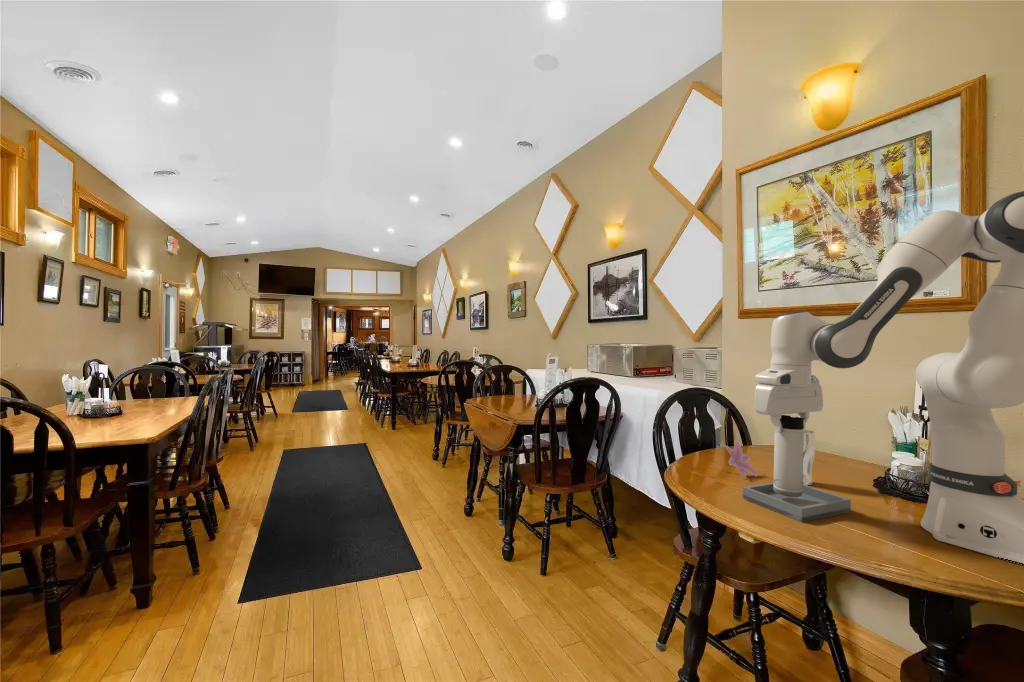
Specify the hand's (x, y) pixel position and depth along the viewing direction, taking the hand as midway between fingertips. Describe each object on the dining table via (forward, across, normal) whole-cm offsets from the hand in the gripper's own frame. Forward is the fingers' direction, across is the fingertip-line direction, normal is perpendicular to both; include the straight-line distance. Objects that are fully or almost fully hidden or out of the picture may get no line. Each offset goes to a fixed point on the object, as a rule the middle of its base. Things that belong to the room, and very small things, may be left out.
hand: (789, 430), depth 114 cm
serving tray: (+19, -1, +1) cm, 19 cm away
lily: (+19, -8, -22) cm, 30 cm away
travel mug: (+16, 0, 0) cm, 16 cm away
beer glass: (+19, -20, -11) cm, 29 cm away
